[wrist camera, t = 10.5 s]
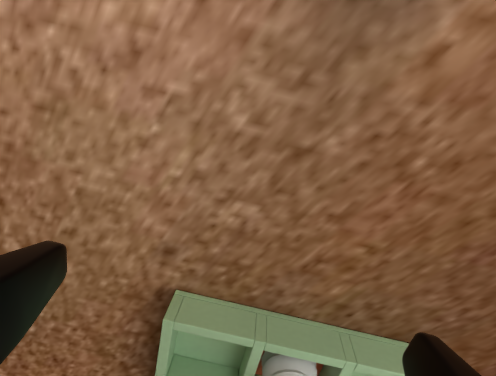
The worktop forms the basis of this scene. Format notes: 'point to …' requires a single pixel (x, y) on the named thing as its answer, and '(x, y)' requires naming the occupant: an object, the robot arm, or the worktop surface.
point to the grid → (263, 342)
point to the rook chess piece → (286, 366)
